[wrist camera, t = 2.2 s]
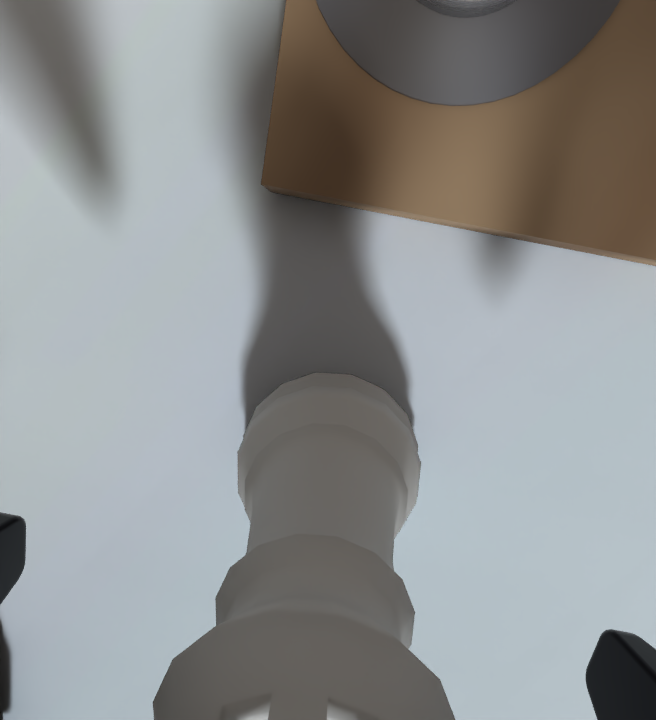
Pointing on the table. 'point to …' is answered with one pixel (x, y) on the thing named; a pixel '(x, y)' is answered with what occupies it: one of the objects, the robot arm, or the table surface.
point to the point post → (465, 7)
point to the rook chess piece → (315, 570)
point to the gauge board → (475, 118)
